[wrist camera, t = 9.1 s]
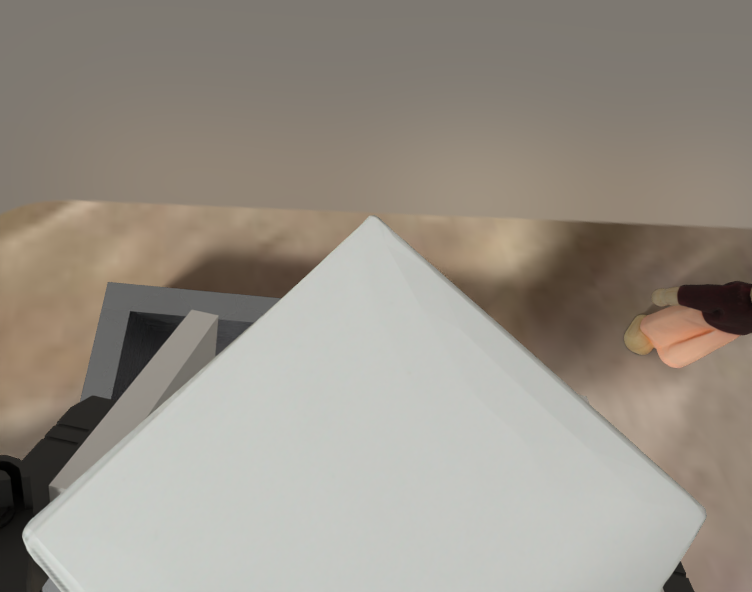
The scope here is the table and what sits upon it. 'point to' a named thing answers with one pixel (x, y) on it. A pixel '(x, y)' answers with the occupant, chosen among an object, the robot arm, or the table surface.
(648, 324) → the grandmother figurine
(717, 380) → the table surface
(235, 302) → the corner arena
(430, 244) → the table surface
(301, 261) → the table surface
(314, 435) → the supplement box
